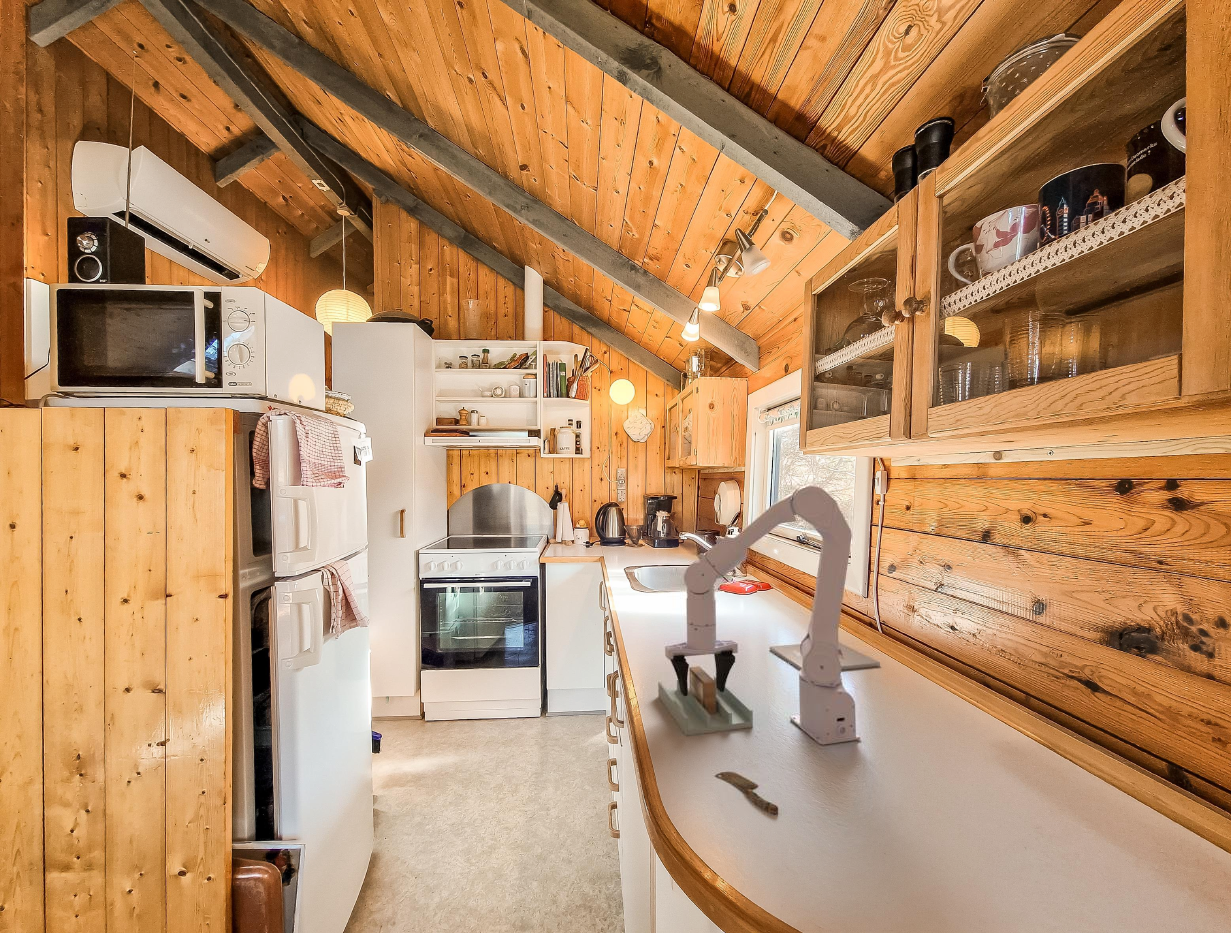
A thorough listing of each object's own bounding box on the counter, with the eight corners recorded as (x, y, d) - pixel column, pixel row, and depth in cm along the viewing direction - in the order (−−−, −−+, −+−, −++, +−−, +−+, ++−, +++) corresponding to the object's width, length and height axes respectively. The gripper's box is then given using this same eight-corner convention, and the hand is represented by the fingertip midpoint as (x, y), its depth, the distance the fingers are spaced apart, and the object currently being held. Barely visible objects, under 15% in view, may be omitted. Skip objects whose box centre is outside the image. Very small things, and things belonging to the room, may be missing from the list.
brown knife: (737, 767, 77) (709, 775, 75) (737, 760, 77) (709, 767, 75) (784, 813, 65) (752, 823, 64) (783, 804, 66) (752, 814, 64)
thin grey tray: (769, 646, 128) (836, 640, 132) (769, 652, 128) (836, 646, 132) (805, 669, 112) (879, 662, 116) (806, 676, 112) (880, 668, 116)
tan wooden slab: (716, 714, 91) (715, 682, 91) (704, 715, 91) (703, 683, 91) (699, 695, 99) (699, 666, 99) (688, 697, 98) (688, 667, 98)
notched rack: (752, 726, 88) (752, 710, 88) (685, 735, 85) (685, 718, 85) (716, 690, 104) (715, 675, 104) (658, 696, 101) (658, 681, 101)
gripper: (726, 614, 101) (727, 679, 100) (659, 619, 97) (660, 687, 97) (742, 623, 94) (743, 694, 93) (671, 629, 91) (672, 702, 90)
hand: (702, 691), depth 95 cm, fingers open, 7 cm apart
